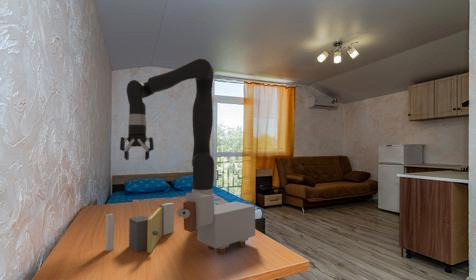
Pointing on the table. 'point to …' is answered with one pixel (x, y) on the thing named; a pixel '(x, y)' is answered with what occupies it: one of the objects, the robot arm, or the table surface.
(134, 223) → the rubber block
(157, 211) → the door
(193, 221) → the toy
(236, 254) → the table surface
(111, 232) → the wall frame
